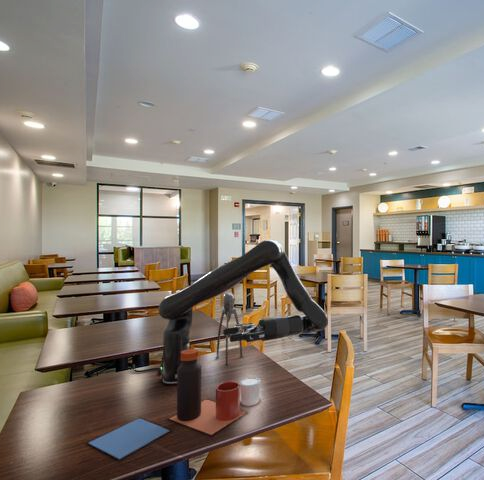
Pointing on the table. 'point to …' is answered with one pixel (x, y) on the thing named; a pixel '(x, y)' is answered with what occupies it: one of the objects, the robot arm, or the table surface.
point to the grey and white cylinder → (250, 391)
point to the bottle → (189, 386)
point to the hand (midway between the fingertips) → (226, 335)
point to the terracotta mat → (207, 419)
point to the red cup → (227, 401)
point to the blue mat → (128, 438)
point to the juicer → (228, 310)
